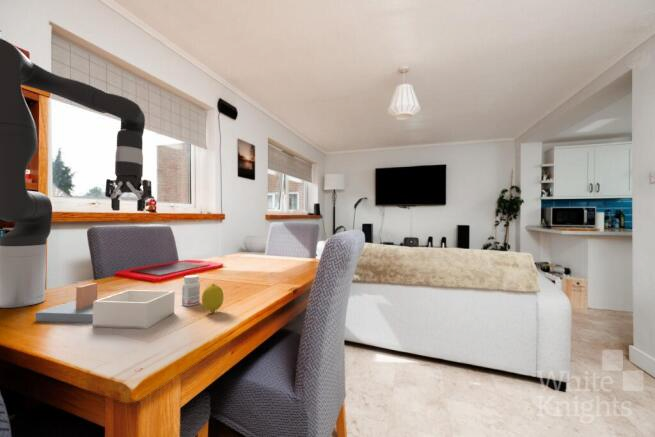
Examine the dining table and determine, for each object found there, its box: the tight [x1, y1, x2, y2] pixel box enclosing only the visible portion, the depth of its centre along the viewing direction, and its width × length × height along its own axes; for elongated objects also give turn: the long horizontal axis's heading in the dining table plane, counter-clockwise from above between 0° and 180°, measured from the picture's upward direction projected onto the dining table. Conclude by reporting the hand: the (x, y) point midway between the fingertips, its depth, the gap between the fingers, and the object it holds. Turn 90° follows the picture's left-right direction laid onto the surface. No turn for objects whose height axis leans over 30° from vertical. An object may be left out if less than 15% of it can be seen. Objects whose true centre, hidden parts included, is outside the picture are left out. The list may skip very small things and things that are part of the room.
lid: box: [35, 282, 100, 324], centre depth 74 cm, size 14×12×8 cm
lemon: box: [201, 283, 224, 313], centre depth 77 cm, size 6×6×8 cm
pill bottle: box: [181, 274, 201, 307], centre depth 84 cm, size 5×5×8 cm
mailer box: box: [92, 289, 176, 330], centre depth 71 cm, size 13×11×6 cm
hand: (128, 210), depth 93 cm, fingers open, 8 cm apart
